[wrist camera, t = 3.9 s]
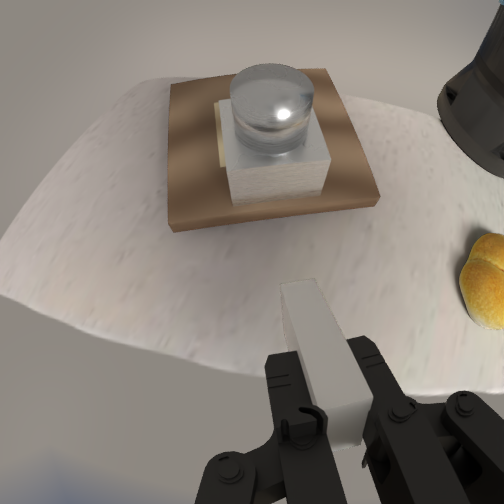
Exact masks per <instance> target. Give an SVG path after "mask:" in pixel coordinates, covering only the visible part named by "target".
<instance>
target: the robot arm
mask: <svg viewBox="0 0 504 504" xmlns="http://www.w3.org/2000/svg"><path fill="white" fill-rule="evenodd" d="M499 2H500V3H501V4H500V6H499V9H498V11H497V13H496V15H495V17H494V19H493V21H492V23H491V26H490V28H489V30H488V32H487V34H486V36H485V38H484V40H483V42H482V44H481V46H480V48H479V50H478V52H477V54H476V56H475V58H474V60H473V61H472V62H471V63H470V64H469V65H467V66H466V67H465V68H464V69H462V70H461V71H460V72H459V73H458V74H457V75H455V76H454V77H453V78H451V79H450V80H449V81H448V82H447V83H446V84H445V85H444V87H443V89H442V91H441V93H440V94H439V96H438V100H437V108H438V112H439V115H440V118H441V120H442V122H443V124H444V126H445V127H446V129H447V131H448V132H449V134H450V135H451V136H452V138H453V139H454V140H455V142H456V143H457V144H458V145H459V146H460V147H461V148H462V150H463V151H464V152H465V153H466V154H467V155H468V156H469V157H471V158H472V159H473V160H474V161H475V162H476V163H478V164H479V165H480V166H481V167H483V168H484V169H486V170H487V171H489V172H491V173H492V174H494V175H496V176H499V177H501V178H504V0H499ZM280 292H281V303H282V314H283V326H284V335H285V339H286V342H287V346H288V350H289V352H285V353H279V354H273V355H269V356H268V358H267V361H266V364H265V373H266V380H267V387H268V393H269V399H270V405H271V411H272V417H273V423H274V431H273V434H272V436H271V438H270V439H269V440H268V441H267V442H266V443H265V444H264V445H262V446H261V447H259V448H257V449H254V450H252V451H250V452H247V453H245V454H243V453H239V452H235V451H232V452H223V453H221V454H218V455H216V456H214V457H213V458H212V459H211V460H210V461H209V462H208V464H207V466H206V467H205V470H204V473H203V477H202V480H201V483H200V487H199V490H198V493H197V497H196V500H195V504H272V503H274V502H276V501H278V500H280V499H283V498H285V497H286V501H287V504H347V501H346V498H345V494H344V491H343V487H342V484H341V480H340V477H339V473H338V470H337V467H336V463H335V460H334V457H333V453H332V452H335V451H339V450H343V449H347V448H351V447H354V446H358V445H361V441H362V438H363V439H364V442H365V444H366V447H367V449H366V452H365V455H364V458H363V460H362V468H365V467H366V465H367V464H368V467H369V470H370V472H371V475H372V478H373V481H374V484H375V487H376V490H377V493H378V495H379V498H380V501H381V504H504V420H503V419H502V418H501V417H500V416H499V415H498V414H497V413H496V412H495V411H494V410H493V409H492V408H491V407H489V406H488V405H487V404H486V403H485V402H484V401H483V400H482V399H481V398H480V397H478V396H477V395H476V394H474V393H472V392H469V391H458V392H456V393H454V394H452V395H451V396H450V397H449V398H448V399H447V401H446V402H445V403H434V404H421V403H417V402H416V400H414V399H412V398H410V397H408V396H405V394H404V393H403V392H402V390H401V388H400V386H399V384H398V383H397V381H396V379H395V377H394V376H393V374H392V372H391V370H390V369H389V367H388V365H387V363H385V360H384V358H383V356H382V355H381V353H380V351H379V349H378V348H377V346H376V344H375V343H374V342H373V341H371V340H370V339H368V338H367V337H366V336H360V337H356V338H351V339H347V340H346V339H345V337H344V335H343V333H342V331H341V329H340V327H339V325H338V323H337V321H336V319H335V317H334V315H333V313H332V311H331V309H330V307H329V305H328V303H327V302H326V300H325V298H324V296H323V294H322V292H321V290H320V288H319V286H318V284H317V282H316V280H315V278H314V279H308V280H302V281H296V282H290V283H283V284H280Z"/></svg>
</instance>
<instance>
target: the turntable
mask: <svg viewBox="0 0 504 504" xmlns="http://www.w3.org/2000/svg"><path fill="white" fill-rule="evenodd" d="M297 70H299V71H301V72H302V73H304V74H305V75H306V76H307V77H308V78H309V79H310V80H311V82H312V84H313V86H314V97H313V103H312V107H313V109H314V112H315V115H316V117H317V120H318V123H319V125H320V128H321V131H322V134H323V137H324V140H325V142H326V145H327V148H328V151H329V154H330V157H331V163H330V166H329V169H328V172H327V175H326V179H325V182H324V185H323V188H322V191H321V194H320V196H313V197H304V198H296V199H287V200H279V201H271V202H263V203H256V204H248V205H241V206H234V207H233V204H232V199H231V193H230V188H229V182H228V176H227V171H226V162H225V153H224V145H223V136H222V127H221V118H220V109H219V100H225V99H231V97H230V84H231V81H232V80H233V78H234V77H235V76H236V75H237V74H232V75H224V76H217V77H211V78H204V79H198V80H192V81H187V82H181V83H176V84H171V90H170V108H169V131H168V224H169V226H170V228H171V229H172V231H173V232H174V233H175V232H181V231H188V230H194V229H201V228H208V227H215V226H222V225H229V224H236V223H243V222H250V221H258V220H265V219H273V218H280V217H288V216H296V215H304V214H312V213H320V212H329V211H337V210H346V209H355V208H364V207H373V206H375V205H376V203H377V201H378V200H379V198H380V194H379V191H378V188H377V185H376V183H375V180H374V177H373V174H372V172H371V169H370V166H369V164H368V161H367V159H366V156H365V154H364V151H363V149H362V146H361V144H360V141H359V139H358V137H357V134H356V132H355V130H354V127H353V125H352V123H351V120H350V118H349V116H348V114H347V111H346V109H345V107H344V105H343V103H342V101H341V99H340V97H339V94H338V92H337V90H336V88H335V86H334V84H333V82H332V80H331V78H330V76H329V74H328V73H327V71H326V69H297Z"/></svg>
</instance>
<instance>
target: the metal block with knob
mask: <svg viewBox="0 0 504 504" xmlns="http://www.w3.org/2000/svg"><path fill="white" fill-rule="evenodd" d="M230 97H231V99H225V100H219V109H220V118H221V127H222V136H223V145H224V153H225V162H226V171H227V176H228V182H229V188H230V193H231V199H232V204H233V207H234V206H241V205H248V204H256V203H263V202H271V201H279V200H287V199H296V198H304V197H313V196H320V194H321V191H322V188H323V185H324V182H325V179H326V175H327V172H328V169H329V166H330V163H331V157H330V154H329V151H328V148H327V145H326V142H325V140H324V137H323V134H322V131H321V128H320V125H319V123H318V120H317V117H316V115H315V112H314V109H313V107H312V103H313V97H314V86H313V84H312V82H311V80H310V79H309V78H308V77H307V76H306V75H305V74H304V73H302V72H301V71H299V70H297V69H295V68H292V67H290V66H286V65H281V64H260V65H255V66H252V67H249V68H246V69H244V70H242V71H241V72H240V73H238V74H237V75H236V76H235V77H234V78H233V80H232V81H231V84H230Z"/></svg>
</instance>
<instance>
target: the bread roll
mask: <svg viewBox="0 0 504 504" xmlns="http://www.w3.org/2000/svg"><path fill="white" fill-rule="evenodd" d="M459 285H460V289H461V292H462V295H463V298H464V301H465V304H466V307H467V310H468V313H469V315H470V317H471V318H472V320H473V321H474V322H475V323H477V324H478V325H479V326H481V327H483V328H486V329H491V330H495V329H496V330H499V329H503V328H504V235H502V234H495V233H487V234H485V235H483V236H481V237H480V238H479V239H478V240H477V241H476V242H475V244H474V245H473V247H472V249H471V252H470V255H469V258H468V260H467V262H466V264H465V265H464V267H463V268H462V271H461V274H460V278H459Z"/></svg>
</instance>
